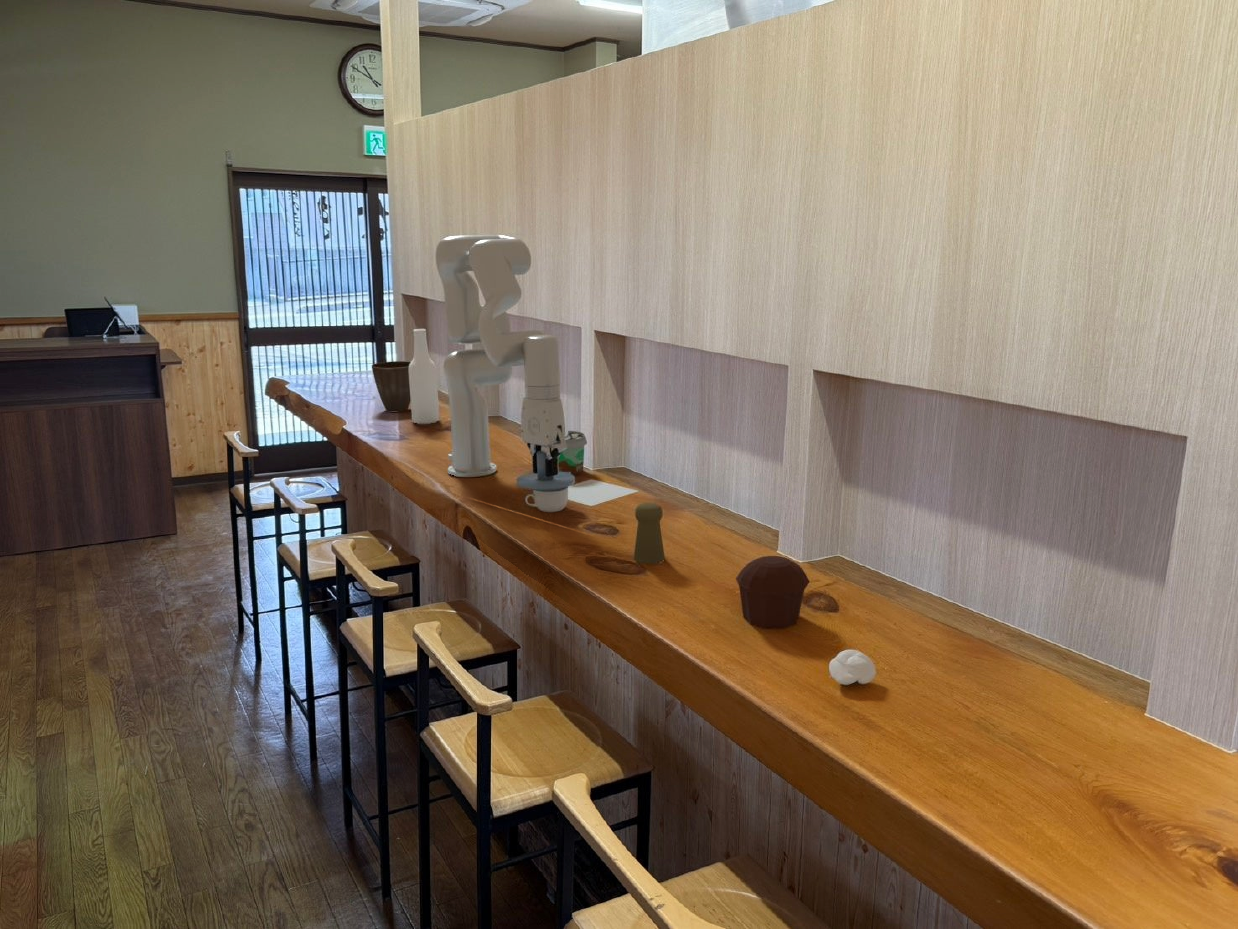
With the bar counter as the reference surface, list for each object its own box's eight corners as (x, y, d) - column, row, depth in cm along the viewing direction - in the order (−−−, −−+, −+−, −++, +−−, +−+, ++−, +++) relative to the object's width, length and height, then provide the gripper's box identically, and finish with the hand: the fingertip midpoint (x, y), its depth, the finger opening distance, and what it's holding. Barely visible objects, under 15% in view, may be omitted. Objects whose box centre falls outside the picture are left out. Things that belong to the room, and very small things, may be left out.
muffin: (751, 636, 146) (753, 576, 144) (724, 609, 157) (725, 552, 154) (820, 626, 150) (823, 567, 147) (789, 600, 160) (791, 544, 157)
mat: (543, 494, 224) (543, 493, 224) (591, 480, 235) (591, 479, 235) (591, 507, 213) (591, 506, 213) (639, 492, 224) (639, 491, 224)
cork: (668, 563, 178) (667, 507, 175) (636, 566, 177) (635, 510, 174) (661, 552, 184) (661, 498, 181) (630, 555, 183) (630, 500, 180)
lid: (504, 482, 210) (502, 453, 208) (547, 471, 219) (546, 442, 217) (543, 493, 201) (542, 462, 199) (587, 481, 210) (586, 451, 208)
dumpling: (857, 669, 135) (858, 644, 134) (883, 684, 131) (884, 658, 130) (819, 681, 132) (820, 655, 131) (844, 697, 128) (845, 670, 127)
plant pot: (428, 407, 330) (424, 362, 326) (402, 415, 317) (398, 368, 313) (393, 405, 336) (389, 360, 332) (366, 412, 323) (362, 366, 319)
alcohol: (411, 420, 310) (404, 328, 302) (438, 418, 312) (432, 327, 305) (413, 425, 302) (406, 331, 294) (441, 423, 304) (435, 330, 297)
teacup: (560, 503, 217) (559, 480, 215) (574, 512, 210) (573, 488, 209) (519, 509, 213) (518, 486, 211) (532, 518, 206) (531, 495, 205)
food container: (581, 480, 235) (580, 441, 233) (557, 479, 236) (556, 440, 234) (592, 468, 247) (591, 430, 244) (569, 467, 248) (568, 430, 245)
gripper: (504, 390, 208) (508, 471, 212) (555, 399, 196) (558, 484, 201) (530, 385, 213) (533, 464, 217) (581, 394, 202) (583, 477, 206)
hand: (545, 473), depth 209 cm, fingers closed on lid, 3 cm apart
